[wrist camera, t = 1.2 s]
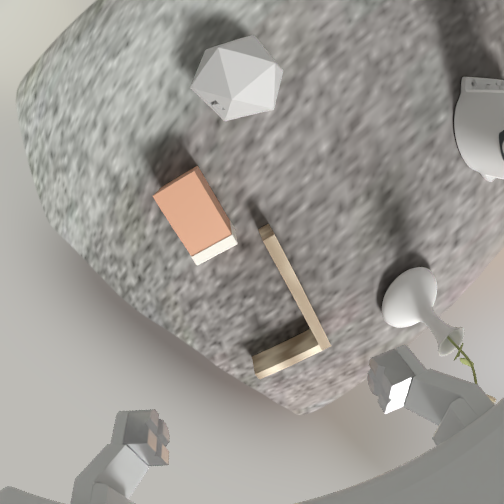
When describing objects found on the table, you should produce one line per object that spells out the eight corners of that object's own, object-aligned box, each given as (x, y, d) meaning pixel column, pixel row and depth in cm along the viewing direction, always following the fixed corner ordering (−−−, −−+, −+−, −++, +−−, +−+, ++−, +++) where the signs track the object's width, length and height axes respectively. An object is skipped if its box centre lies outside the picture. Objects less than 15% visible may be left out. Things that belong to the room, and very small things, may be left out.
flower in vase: (367, 292, 42) (459, 413, 19) (421, 249, 40) (532, 341, 18) (391, 336, 47) (461, 438, 24) (437, 298, 45) (519, 385, 23)
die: (191, 57, 27) (164, 95, 22) (252, 14, 22) (242, 36, 17) (236, 102, 33) (224, 150, 28) (297, 69, 28) (302, 110, 23)
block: (197, 165, 32) (194, 170, 28) (234, 228, 36) (237, 243, 31) (161, 187, 33) (152, 196, 28) (199, 247, 36) (197, 265, 32)
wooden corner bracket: (268, 223, 36) (274, 234, 32) (323, 329, 44) (331, 345, 40) (186, 267, 37) (183, 283, 33) (256, 361, 45) (259, 379, 41)
